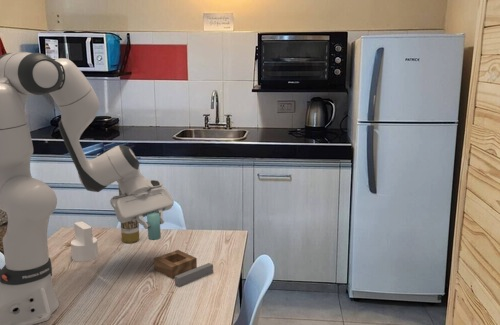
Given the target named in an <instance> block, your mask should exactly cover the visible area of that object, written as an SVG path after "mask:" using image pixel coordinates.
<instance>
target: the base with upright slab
mask: <svg viewBox="0 0 500 325" xmlns="http://www.w3.org/2000/svg"><path fill="white" fill-rule="evenodd" d="M73 227H74V239H72V240H71V241H70V249H71V259H72V261H74V262H77V263H79V262H80V263H81V262H82V263H84V262H90V261H93V260H95V259H98V257H99V248H98V247H99V246H98V239H97V237H94V236H93V228H92V227H91V225H89V224H87V223H86V222H84V221H76V222H74V223H73Z"/></svg>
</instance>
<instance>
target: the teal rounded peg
mask: <svg viewBox="0 0 500 325" xmlns="http://www.w3.org/2000/svg"><path fill="white" fill-rule="evenodd" d="M146 222H149V224H150V225H151V227H150V228H148V229H147V236H148V240H149V241H157V240H160V239H161V238H162V234H161V224H160V214H159V213H149V214H147V216H146Z"/></svg>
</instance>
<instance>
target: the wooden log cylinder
mask: <svg viewBox="0 0 500 325" xmlns="http://www.w3.org/2000/svg"><path fill="white" fill-rule="evenodd" d="M117 184H118V183H117ZM121 194H122V192H121V190H120V188H119V184H118V196H119V195H121ZM120 232H121V241H122V242H123V243H125V244H133V243H137V242H138V241H139V240H140V223H138V222H137V220H136V219H135V220H132V221H128V222H125V223H121V222H120Z"/></svg>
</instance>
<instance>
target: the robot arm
mask: <svg viewBox="0 0 500 325" xmlns="http://www.w3.org/2000/svg"><path fill="white" fill-rule="evenodd" d="M47 94H49V96H51V98H52V99H53V101H54V103H55V104H56V105H57V107H58V108H59V110H60V117H61V118H60V120H59V121H58V129H59V132H60V135H61V137H62V139H63V140H62V141H63V143H64V145H65V147H66V150H67V151H68V153H69V156H70V159H72V162H73V165H74V166H75V168H76V171H77V174H78V179H79V181H80V183H81V185H82V187H83V188H85V190H86V191H89V192H93V193H99V192H102V190H104V189H106V188H107V187H108V186H109V185H112V184H113V183H115V182H117V184H119V186H118V189H119V188H120V190H121V192H122V194H121V195H119V194H118V195H114V196H112V198H111V199H110V200H109V202H110V205H111V207H112V208H113V210H114V213H115V216H116V219H117V221H118V222H119V223H120V224H121V223H125V222H128V221H132V220H135V219H136V220H137V222H138V223H139V225H142V226H143V228H144V229H145V230H148V228H150V227H151V225H150V224H149V222H147V220H145V219H144V218H145V217H147V214H149V213H159V214H160V225H163V224H164V223H165V219H164V217H163V216H164V212H165V211H168V210H171V209H172V208H173V206H174V204H175V203H174V199H173V198H172V196H171V194H170V192H169V191H168V190H167V189H166V188H165V187H163V182H162V181H161V180H157V179H149V178H145V176H144V175H143V174H142V173H141V172H140V161H139V160H138V158H137V157H136V154H135V152H134V150H133V149H132V148H131V147H130V146H126V145H123V144H119V145H116V146H114V147H112V148H110V149H109V150H106V151H105V152H103V153H102V154H100V155H98V156H96V157H95V158H93V159H87V156H86V154H85V152H84V150H83V147H82V145H81V143H80V139H81V136H82V135H83V133H84V131H85V130H86V129H87V128H88V127H89V125H90V124H91V123H92V122H93V121H94V119H96V116H97V114H98V112H99V110H100V100H99V98H98V95H97V94H96V92H95V89H94V88H93V87H92V84H91V83H90V81H89V80H88V78H87V77H86V76H85V74H84V73H83V72H82V71H81V69H80V68H78V66H77V65H76V64H75V63H74V62H73V61H72V60H70V59H69V58H65V57H64V58H63V57H61V58H60V57H59V58H56V59H54V58H52V57H51V56H50V55H49V56H48V55H47V54H44V53H40V52H28V51H17V52H9V53H4V54H2V55H0V211H3V212H5V213H6V216H7V227H6V228H7V229H6V232H5V235H3V237H2V247H3V254H4V255H3V258H4V265H3V267H2V268H0V325H36V324H37V325H38V324H40V323H43V322H46V321H48V320H50V318H51V316H52V314H53V313H54V312H55V311H56V310H58V309H59V307H60V300H59V299H58V297H57V296H58V295H57V292H56V290H55V287H54V283H53V279H52V277H53V265H52V260H51V257H50V256H49V245H48V244H49V243H48V227H49V221H50V217H51V216H52V215H53V213H54V212H55V209H56V207H57V204H58V198H57V194H56V192H55V191H54V190H53V189H52V188H51V187H50V186H49V185H48V184H47V183H46V182H44V181H43V180H40V179H36V178H34V177H33V176H32V174H31V158H32V155H33V154H34V145H33V140H32V136H31V131H30V127H29V121H28V117H27V114H26V101H27V98H28V96H34V95H35V96H45V95H47Z"/></svg>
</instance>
